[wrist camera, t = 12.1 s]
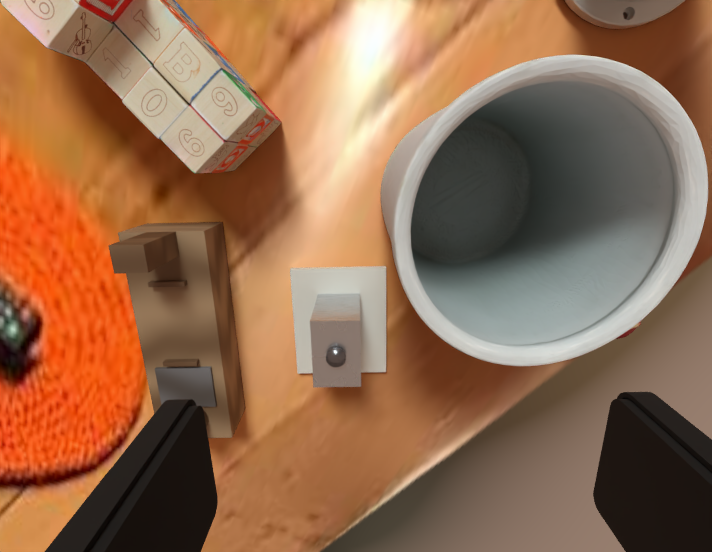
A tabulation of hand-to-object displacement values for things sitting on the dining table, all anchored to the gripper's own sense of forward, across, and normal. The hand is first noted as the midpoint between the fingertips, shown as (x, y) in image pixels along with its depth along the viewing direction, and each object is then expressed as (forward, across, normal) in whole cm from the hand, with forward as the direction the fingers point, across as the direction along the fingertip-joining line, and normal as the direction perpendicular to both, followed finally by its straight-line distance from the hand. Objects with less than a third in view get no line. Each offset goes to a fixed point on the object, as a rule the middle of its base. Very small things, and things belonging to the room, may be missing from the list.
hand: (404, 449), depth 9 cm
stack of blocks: (+29, +16, -16) cm, 37 cm away
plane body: (+28, +17, +9) cm, 34 cm away
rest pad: (+28, +3, +9) cm, 30 cm away
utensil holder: (+28, -8, -3) cm, 30 cm away
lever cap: (+28, +3, +9) cm, 29 cm away
